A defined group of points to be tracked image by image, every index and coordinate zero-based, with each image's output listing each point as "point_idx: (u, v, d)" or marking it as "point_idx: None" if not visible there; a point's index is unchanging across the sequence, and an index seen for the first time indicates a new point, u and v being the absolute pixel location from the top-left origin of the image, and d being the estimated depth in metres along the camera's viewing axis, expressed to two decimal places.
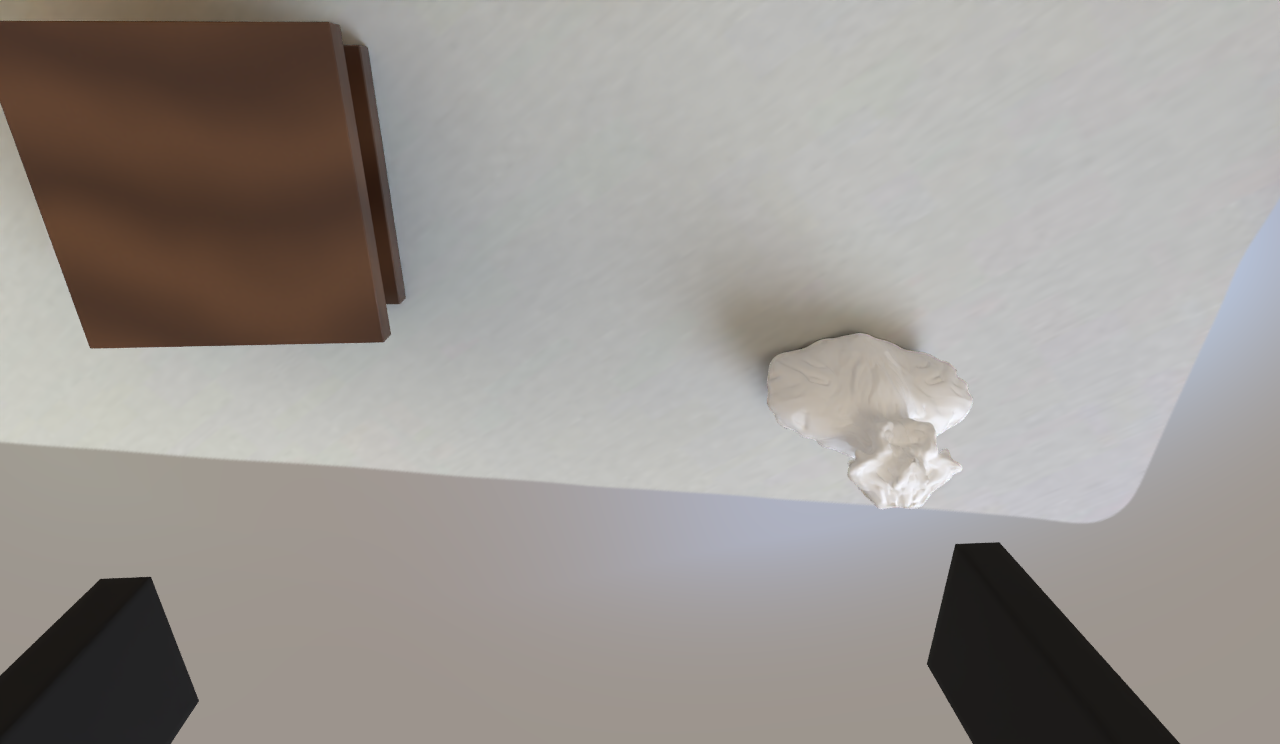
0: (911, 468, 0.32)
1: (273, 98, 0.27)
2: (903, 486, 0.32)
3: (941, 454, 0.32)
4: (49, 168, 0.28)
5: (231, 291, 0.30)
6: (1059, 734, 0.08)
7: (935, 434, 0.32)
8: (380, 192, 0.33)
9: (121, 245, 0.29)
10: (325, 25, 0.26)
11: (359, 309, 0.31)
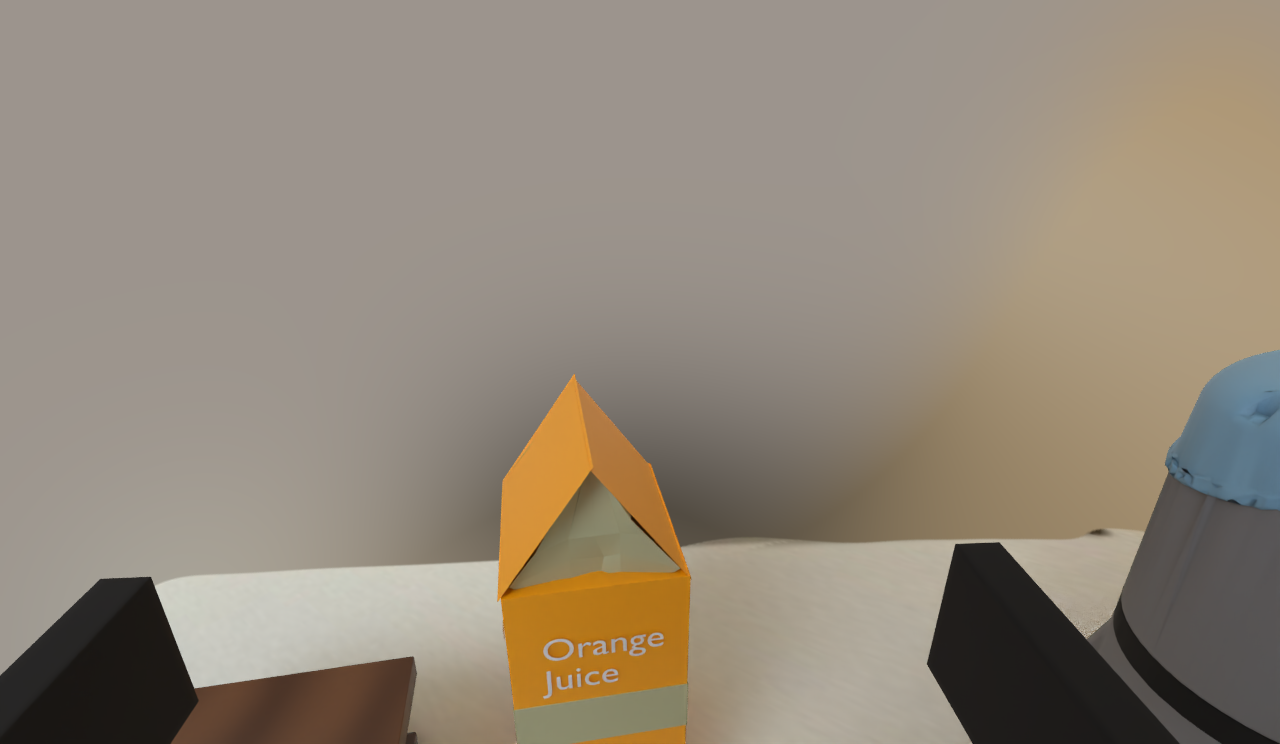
0: None
1: None
2: None
3: None
4: (288, 691, 0.31)
5: None
6: (1059, 734, 0.08)
7: None
8: None
9: (193, 740, 0.28)
10: None
11: None
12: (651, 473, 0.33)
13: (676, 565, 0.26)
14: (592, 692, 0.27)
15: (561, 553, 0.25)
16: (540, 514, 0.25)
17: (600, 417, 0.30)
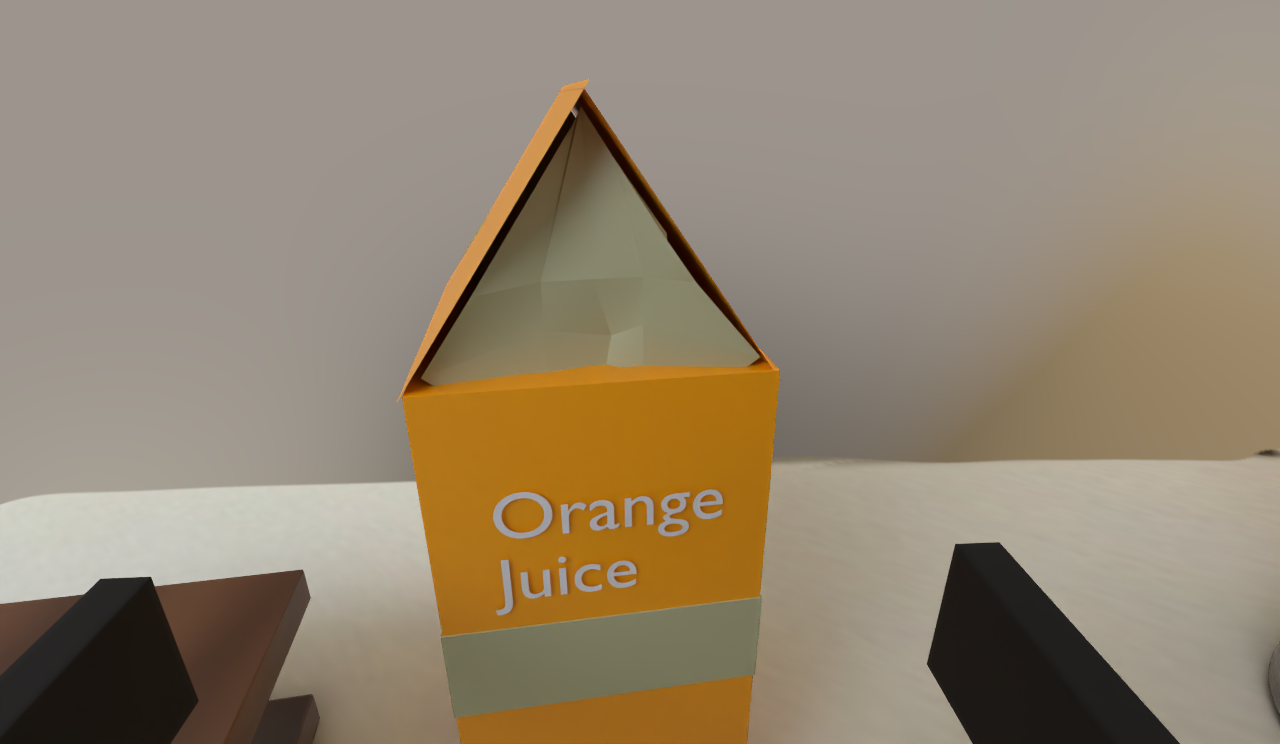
0: None
1: None
2: None
3: None
4: None
5: None
6: (1059, 734, 0.08)
7: None
8: None
9: None
10: None
11: None
12: None
13: (752, 350, 0.13)
14: (589, 607, 0.15)
15: (526, 313, 0.13)
16: (486, 241, 0.13)
17: None
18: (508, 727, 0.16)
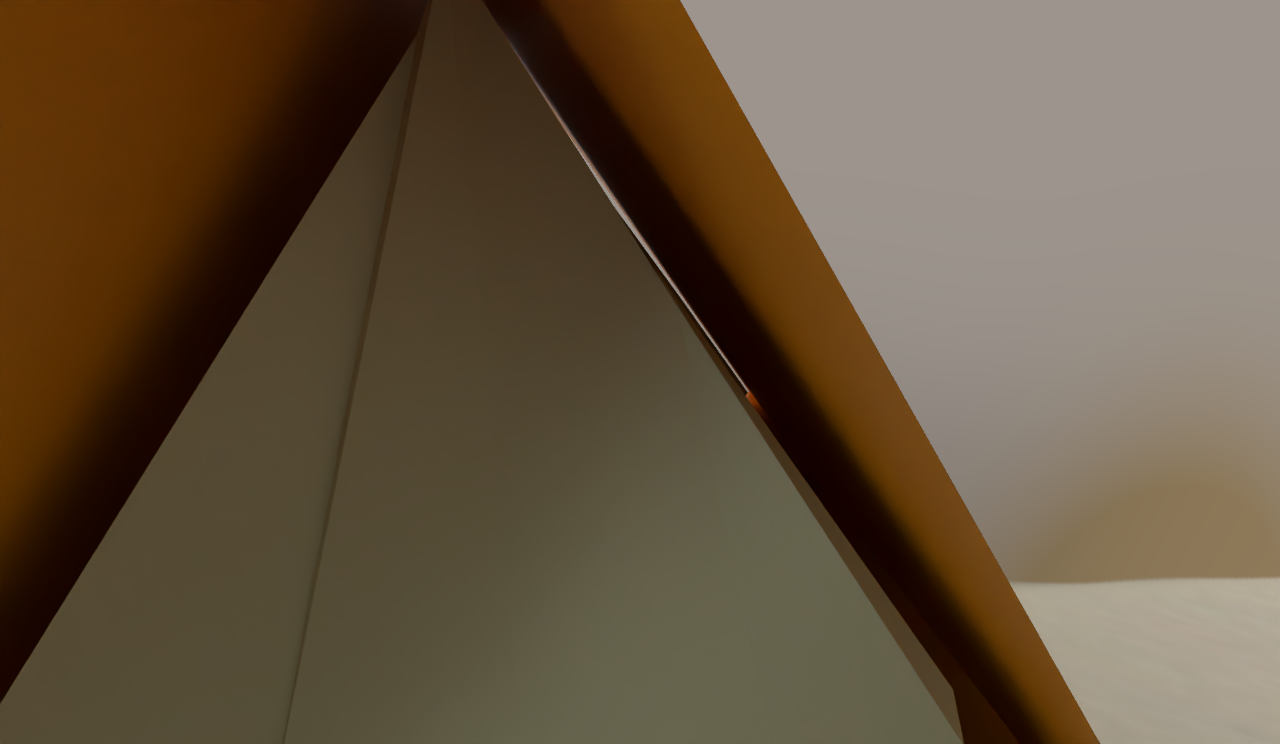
0: None
1: None
2: None
3: None
4: None
5: None
6: None
7: None
8: None
9: None
10: None
11: None
12: (770, 418, 0.10)
13: None
14: None
15: None
16: (26, 649, 0.03)
17: (604, 181, 0.08)
18: None
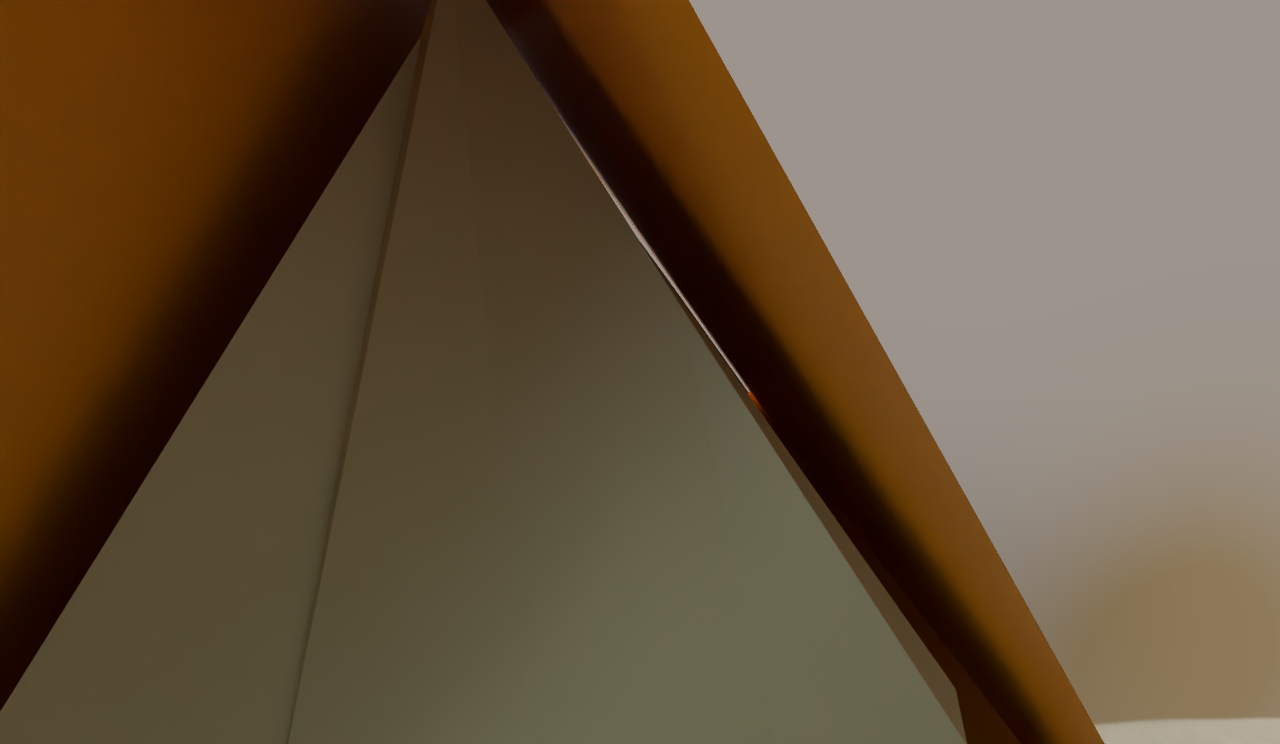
0: None
1: None
2: None
3: None
4: None
5: None
6: None
7: None
8: None
9: None
10: None
11: None
12: (770, 418, 0.10)
13: None
14: None
15: None
16: (31, 649, 0.03)
17: (605, 181, 0.08)
18: None
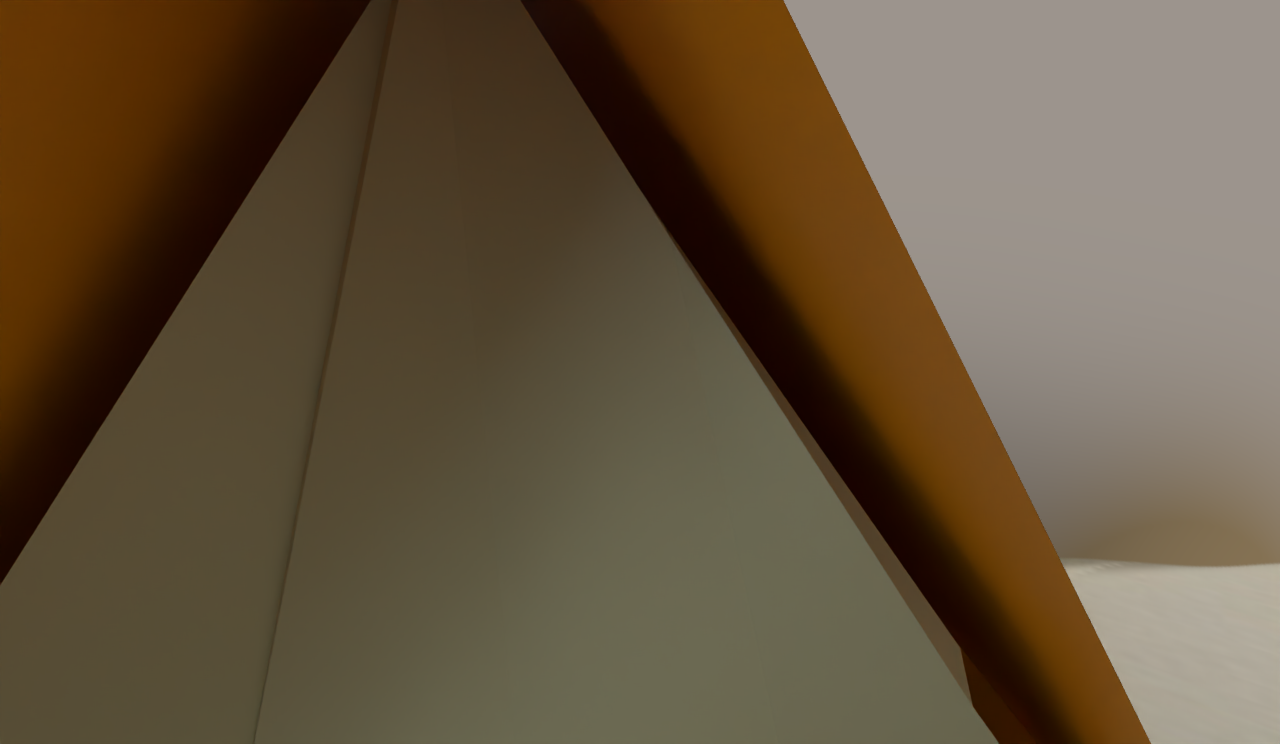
0: None
1: None
2: None
3: None
4: None
5: None
6: None
7: None
8: None
9: None
10: None
11: None
12: None
13: None
14: None
15: None
16: None
17: None
18: None
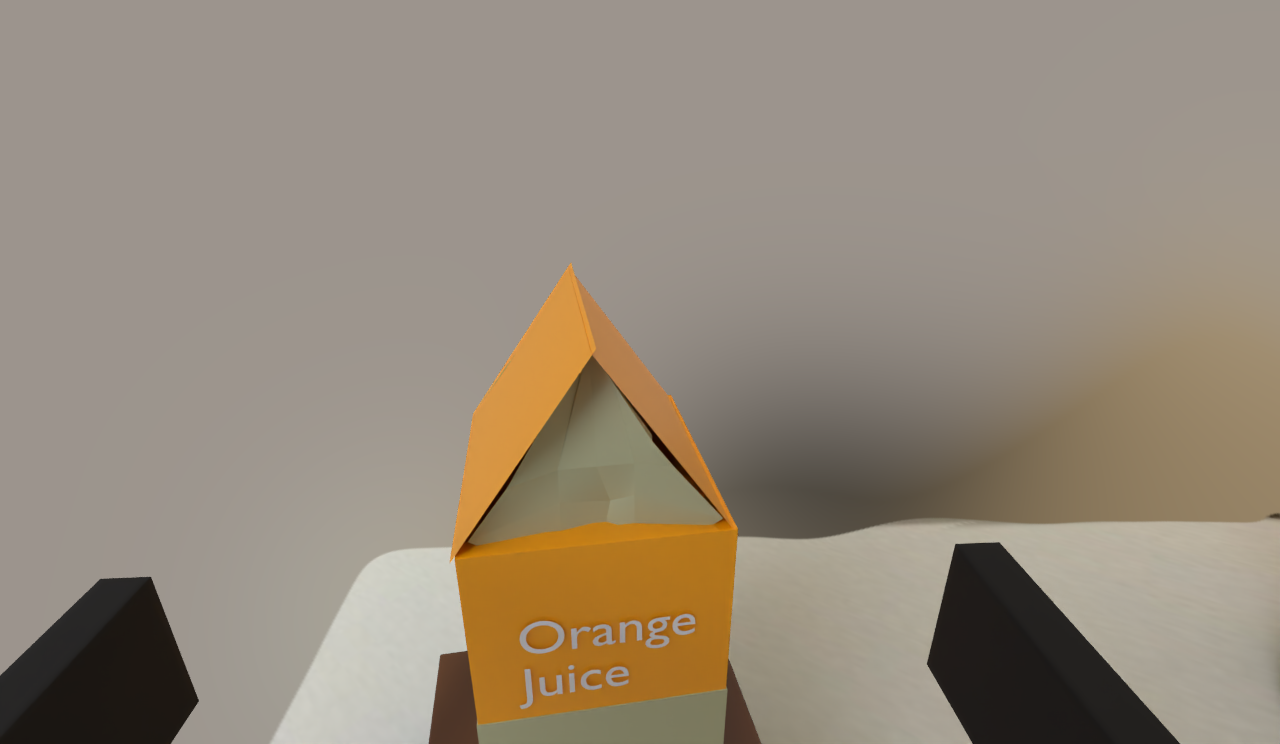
0: None
1: None
2: None
3: None
4: None
5: None
6: (1059, 734, 0.08)
7: None
8: None
9: None
10: None
11: None
12: (672, 406, 0.24)
13: (717, 514, 0.17)
14: (591, 700, 0.19)
15: (547, 492, 0.17)
16: (517, 435, 0.17)
17: (605, 321, 0.22)
18: None
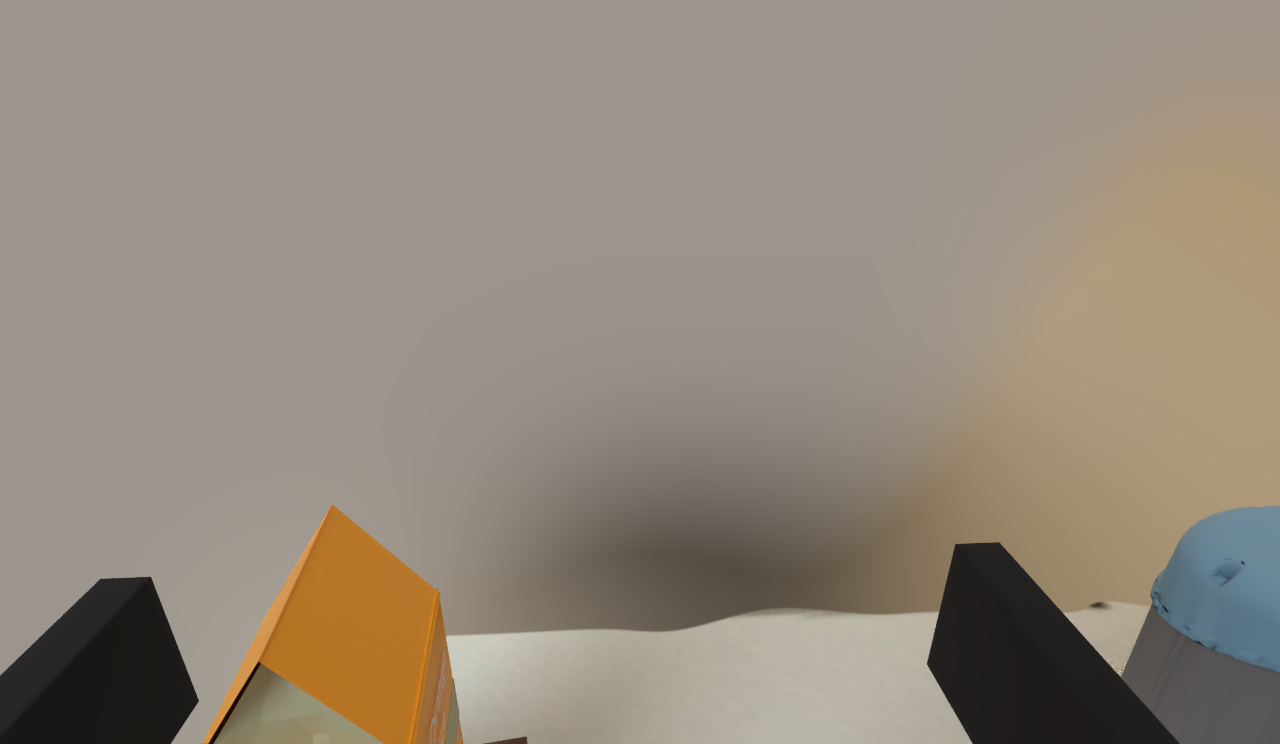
0: None
1: None
2: None
3: None
4: None
5: None
6: (1059, 734, 0.08)
7: None
8: None
9: None
10: None
11: None
12: (432, 604, 0.30)
13: None
14: None
15: (254, 737, 0.22)
16: (234, 691, 0.22)
17: (358, 551, 0.27)
18: None
